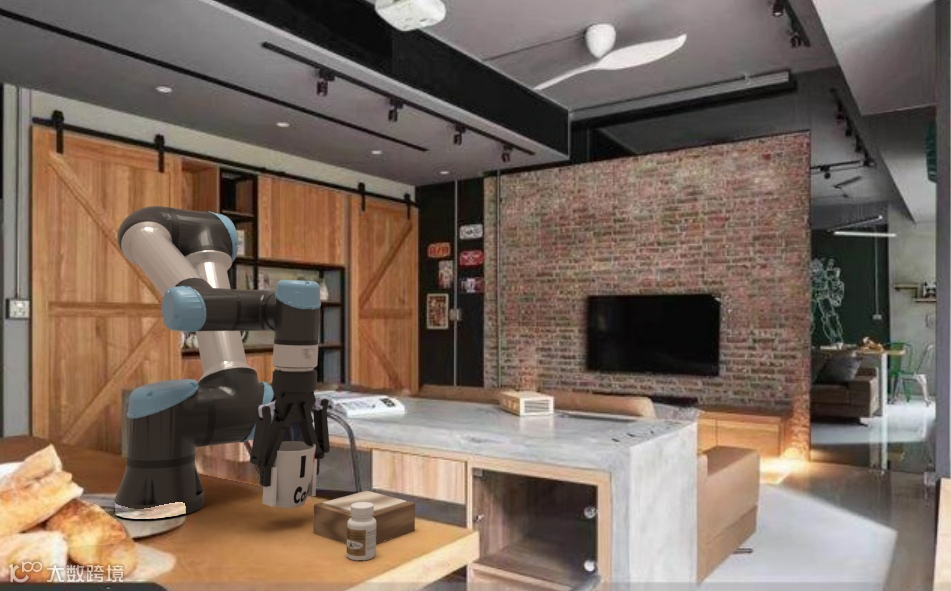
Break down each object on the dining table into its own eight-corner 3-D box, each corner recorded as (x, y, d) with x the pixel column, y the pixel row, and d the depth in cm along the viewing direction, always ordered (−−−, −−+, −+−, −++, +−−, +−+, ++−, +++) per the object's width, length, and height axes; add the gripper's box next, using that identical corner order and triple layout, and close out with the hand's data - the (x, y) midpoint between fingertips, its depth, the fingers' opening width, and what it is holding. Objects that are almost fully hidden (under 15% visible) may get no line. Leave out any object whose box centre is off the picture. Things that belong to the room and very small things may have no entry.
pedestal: (313, 532, 111) (314, 502, 111) (366, 516, 120) (367, 488, 120) (361, 549, 103) (362, 517, 103) (414, 530, 113) (415, 500, 113)
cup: (300, 513, 110) (302, 453, 110) (256, 508, 112) (258, 449, 112) (321, 499, 118) (323, 443, 118) (279, 494, 120) (281, 439, 120)
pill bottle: (340, 557, 100) (341, 505, 100) (359, 548, 103) (360, 499, 104) (362, 563, 97) (363, 510, 98) (381, 554, 101) (382, 503, 101)
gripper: (256, 374, 105) (250, 518, 105) (354, 367, 121) (349, 491, 121) (230, 369, 109) (223, 507, 109) (327, 363, 125) (322, 483, 125)
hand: (289, 499), depth 115 cm, fingers closed on cup, 8 cm apart
